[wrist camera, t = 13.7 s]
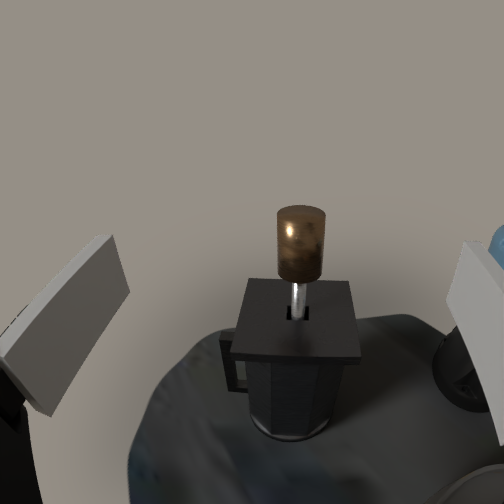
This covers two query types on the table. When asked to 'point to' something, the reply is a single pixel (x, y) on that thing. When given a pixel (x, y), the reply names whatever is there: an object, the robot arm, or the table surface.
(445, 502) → the reusable coffee cup
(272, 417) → the press carafe
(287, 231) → the plunger
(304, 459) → the table surface
